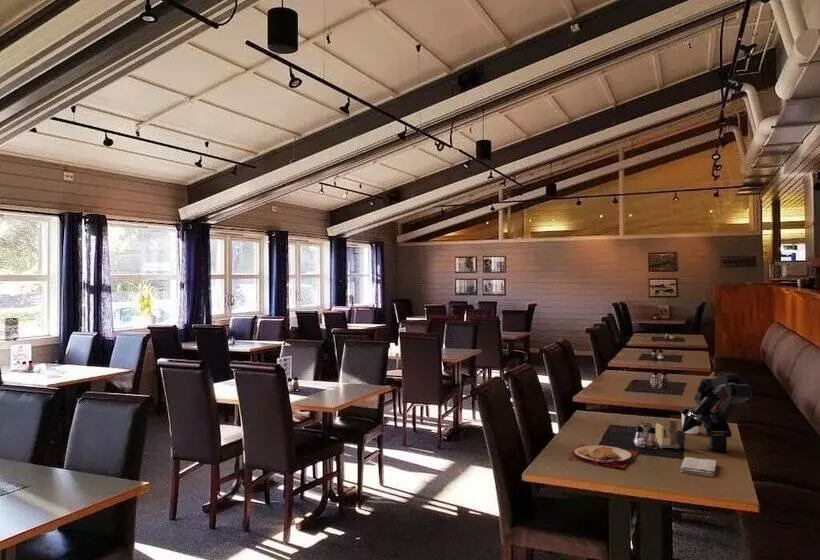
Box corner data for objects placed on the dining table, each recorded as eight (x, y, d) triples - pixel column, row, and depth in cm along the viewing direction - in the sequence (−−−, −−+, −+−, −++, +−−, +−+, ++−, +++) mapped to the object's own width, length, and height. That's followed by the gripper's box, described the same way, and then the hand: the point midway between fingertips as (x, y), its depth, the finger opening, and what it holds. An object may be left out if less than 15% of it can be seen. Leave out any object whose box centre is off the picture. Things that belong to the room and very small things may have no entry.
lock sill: (672, 444, 276) (672, 423, 276) (679, 448, 269) (679, 426, 269) (655, 444, 275) (655, 423, 275) (661, 448, 269) (662, 426, 269)
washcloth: (679, 474, 236) (679, 466, 236) (683, 461, 252) (683, 454, 252) (714, 479, 230) (714, 470, 230) (716, 466, 246) (716, 458, 246)
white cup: (695, 430, 301) (696, 410, 301) (701, 434, 293) (702, 413, 293) (678, 430, 302) (679, 409, 302) (684, 434, 294) (684, 413, 294)
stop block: (672, 440, 275) (672, 418, 274) (676, 443, 271) (676, 420, 270) (665, 441, 274) (665, 418, 274) (669, 443, 270) (670, 420, 270)
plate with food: (638, 455, 261) (638, 447, 261) (623, 470, 239) (623, 461, 239) (580, 447, 274) (580, 439, 274) (561, 461, 252) (561, 452, 252)
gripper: (731, 422, 265) (707, 449, 264) (708, 413, 283) (685, 438, 283) (713, 404, 264) (688, 431, 263) (690, 396, 283) (667, 422, 282)
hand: (683, 431), depth 273 cm, fingers closed
